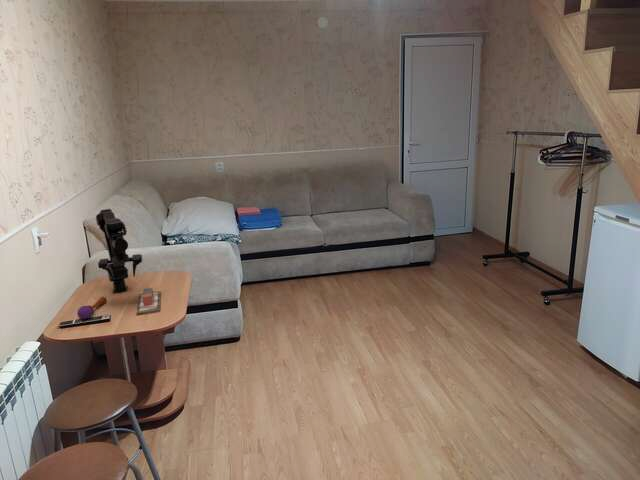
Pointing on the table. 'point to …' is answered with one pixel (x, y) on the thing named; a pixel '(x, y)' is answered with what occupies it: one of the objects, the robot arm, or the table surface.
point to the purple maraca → (89, 309)
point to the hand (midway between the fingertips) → (123, 278)
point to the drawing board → (151, 308)
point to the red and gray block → (148, 297)
